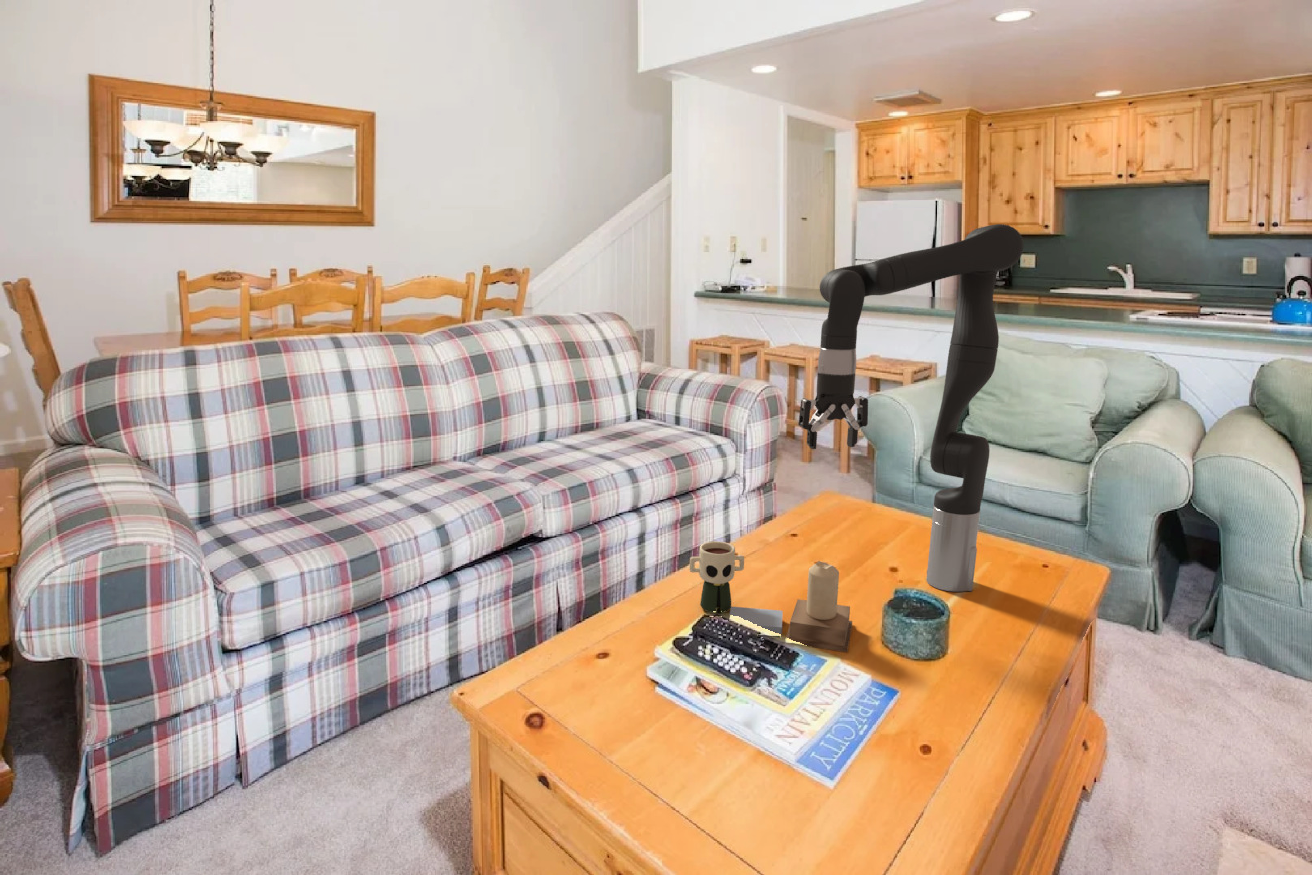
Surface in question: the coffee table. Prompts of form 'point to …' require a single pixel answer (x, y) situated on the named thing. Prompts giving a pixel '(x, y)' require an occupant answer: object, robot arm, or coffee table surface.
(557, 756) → the coffee table surface
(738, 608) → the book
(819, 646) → the stand
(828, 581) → the candle
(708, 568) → the character mug
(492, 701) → the coffee table surface
